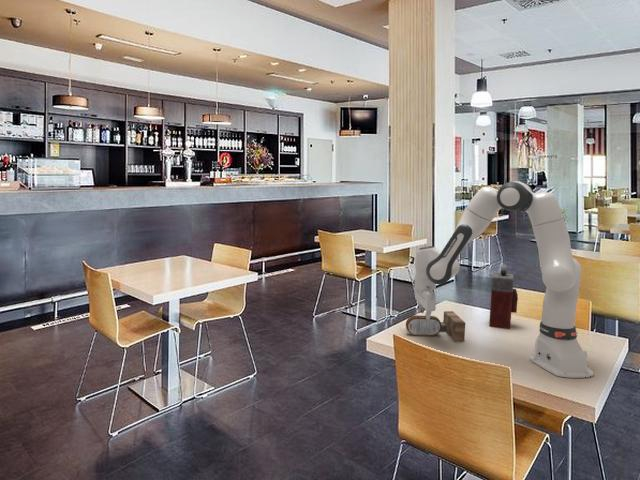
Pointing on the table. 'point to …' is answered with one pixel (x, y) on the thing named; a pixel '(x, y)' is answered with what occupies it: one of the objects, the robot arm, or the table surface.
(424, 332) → the tin
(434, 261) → the robot arm
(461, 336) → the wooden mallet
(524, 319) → the table surface
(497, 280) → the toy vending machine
